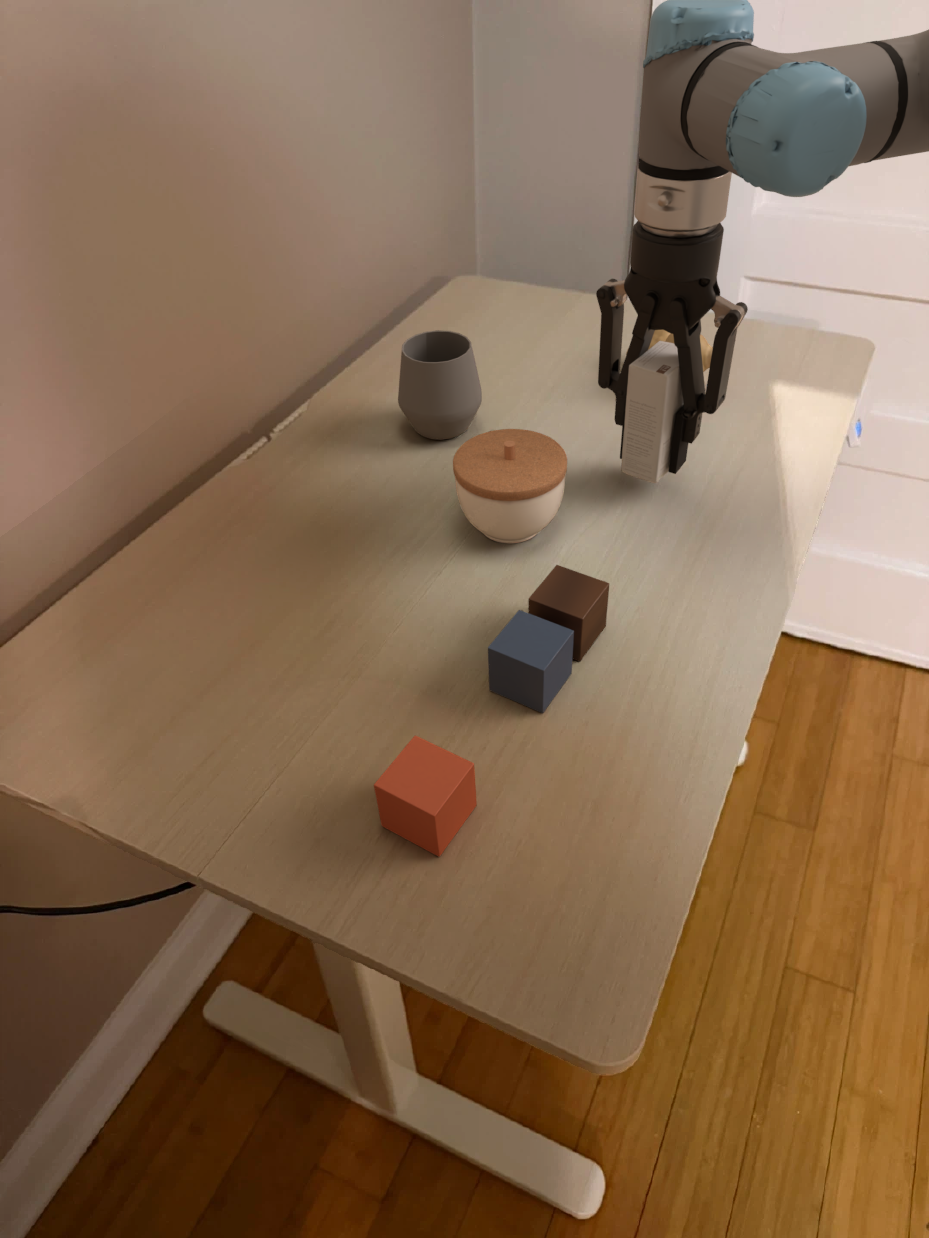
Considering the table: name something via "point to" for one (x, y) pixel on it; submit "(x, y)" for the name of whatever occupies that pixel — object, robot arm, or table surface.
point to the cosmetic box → (651, 412)
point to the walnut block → (572, 605)
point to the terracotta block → (426, 795)
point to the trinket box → (510, 482)
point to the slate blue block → (530, 660)
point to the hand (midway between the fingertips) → (652, 459)
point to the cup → (439, 384)
